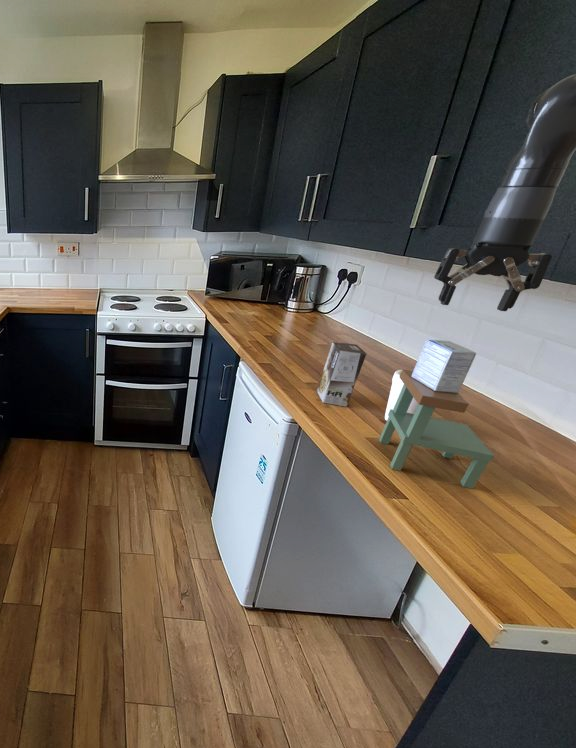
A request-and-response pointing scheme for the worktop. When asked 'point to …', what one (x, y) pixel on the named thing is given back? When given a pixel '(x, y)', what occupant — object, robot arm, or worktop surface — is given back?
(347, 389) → the coffee box
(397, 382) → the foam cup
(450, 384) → the medicine box
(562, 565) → the worktop surface
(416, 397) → the step stool
